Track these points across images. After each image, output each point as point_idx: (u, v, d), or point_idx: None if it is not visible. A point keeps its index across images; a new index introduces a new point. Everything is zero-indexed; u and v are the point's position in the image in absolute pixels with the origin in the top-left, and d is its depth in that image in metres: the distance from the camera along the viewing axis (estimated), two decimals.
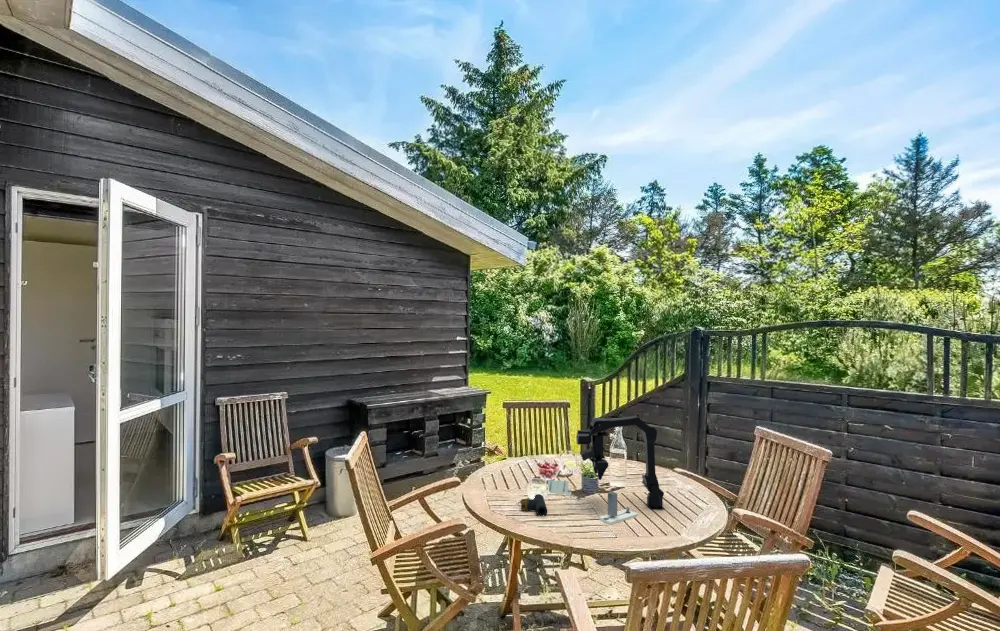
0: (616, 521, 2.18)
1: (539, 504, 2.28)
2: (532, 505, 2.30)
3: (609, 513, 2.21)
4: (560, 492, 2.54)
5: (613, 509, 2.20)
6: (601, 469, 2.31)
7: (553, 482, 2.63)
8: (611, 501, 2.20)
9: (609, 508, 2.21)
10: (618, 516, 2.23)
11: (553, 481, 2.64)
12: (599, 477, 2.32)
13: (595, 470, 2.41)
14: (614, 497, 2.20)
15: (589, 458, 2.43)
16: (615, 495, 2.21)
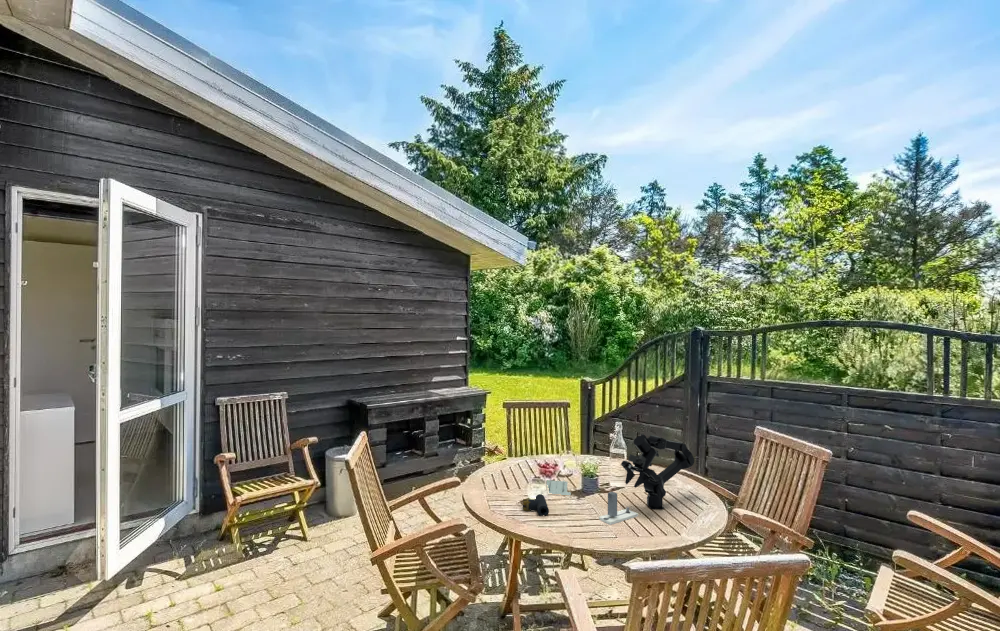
0: (616, 521, 2.18)
1: (541, 504, 2.28)
2: (533, 505, 2.30)
3: (609, 513, 2.21)
4: (559, 492, 2.53)
5: (613, 509, 2.20)
6: (642, 479, 2.27)
7: (552, 482, 2.62)
8: (611, 501, 2.20)
9: (609, 508, 2.21)
10: (618, 516, 2.23)
11: (552, 481, 2.63)
12: (636, 484, 2.25)
13: (627, 480, 2.31)
14: (614, 497, 2.20)
15: (627, 467, 2.33)
16: (615, 495, 2.21)
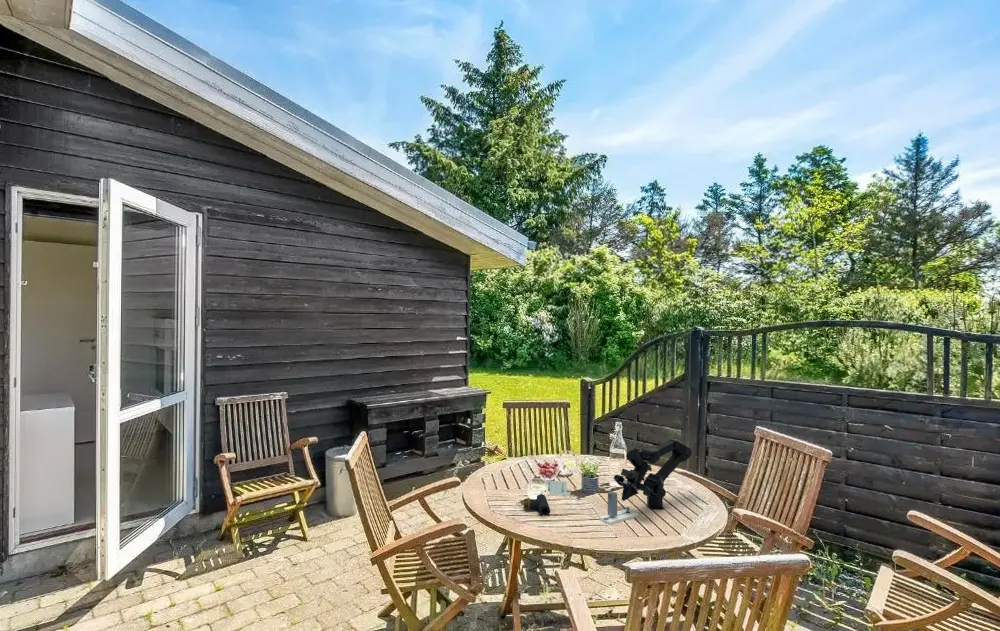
0: (616, 521, 2.18)
1: (542, 504, 2.28)
2: (535, 505, 2.30)
3: (609, 513, 2.21)
4: (559, 493, 2.53)
5: (613, 509, 2.20)
6: (631, 492, 2.26)
7: (551, 483, 2.62)
8: (611, 501, 2.20)
9: (609, 508, 2.21)
10: (618, 516, 2.23)
11: (551, 482, 2.63)
12: (624, 498, 2.25)
13: None
14: (614, 497, 2.20)
15: (623, 482, 2.28)
16: (615, 495, 2.21)
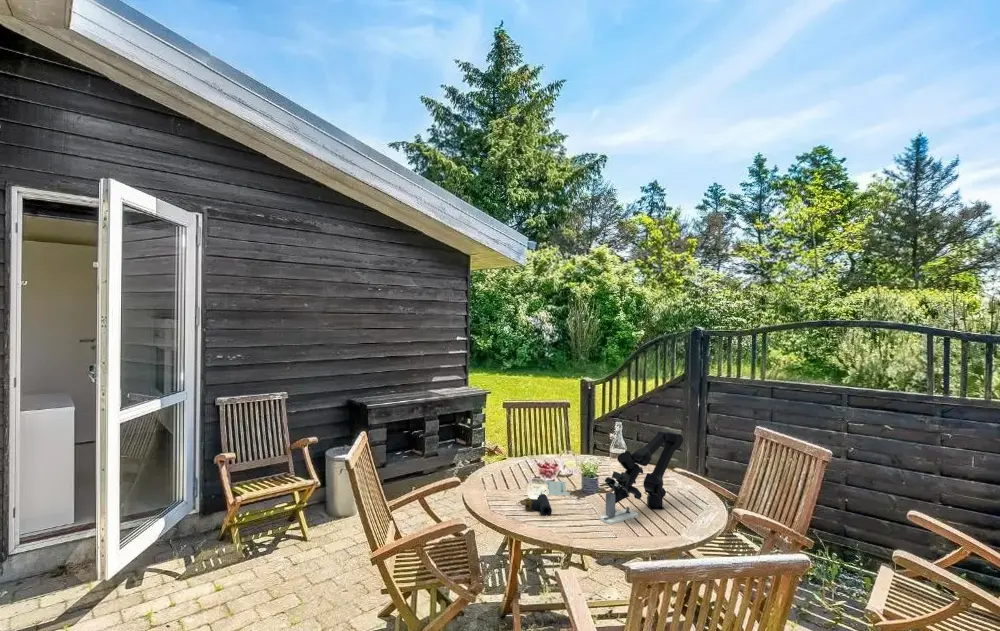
0: (616, 521, 2.18)
1: (543, 504, 2.28)
2: (536, 505, 2.31)
3: (607, 514, 2.20)
4: (558, 493, 2.53)
5: (611, 509, 2.19)
6: (622, 495, 2.23)
7: (550, 483, 2.61)
8: (609, 502, 2.19)
9: (607, 509, 2.20)
10: (618, 516, 2.23)
11: (550, 482, 2.62)
12: (615, 501, 2.22)
13: None
14: (612, 498, 2.19)
15: (614, 485, 2.25)
16: (613, 496, 2.20)
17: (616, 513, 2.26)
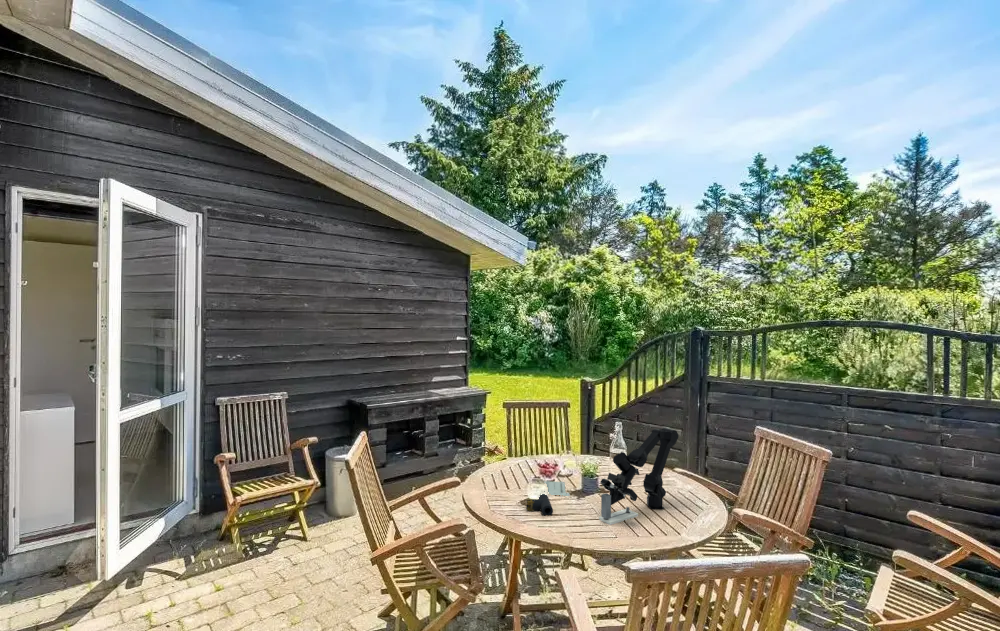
0: (616, 521, 2.18)
1: (545, 504, 2.28)
2: (537, 505, 2.31)
3: (603, 515, 2.19)
4: (558, 493, 2.52)
5: (606, 511, 2.18)
6: (617, 497, 2.21)
7: (549, 483, 2.61)
8: (604, 503, 2.18)
9: (603, 510, 2.19)
10: (618, 516, 2.23)
11: (549, 482, 2.62)
12: (611, 503, 2.20)
13: None
14: (607, 499, 2.18)
15: (610, 487, 2.24)
16: (609, 497, 2.18)
17: (616, 513, 2.26)
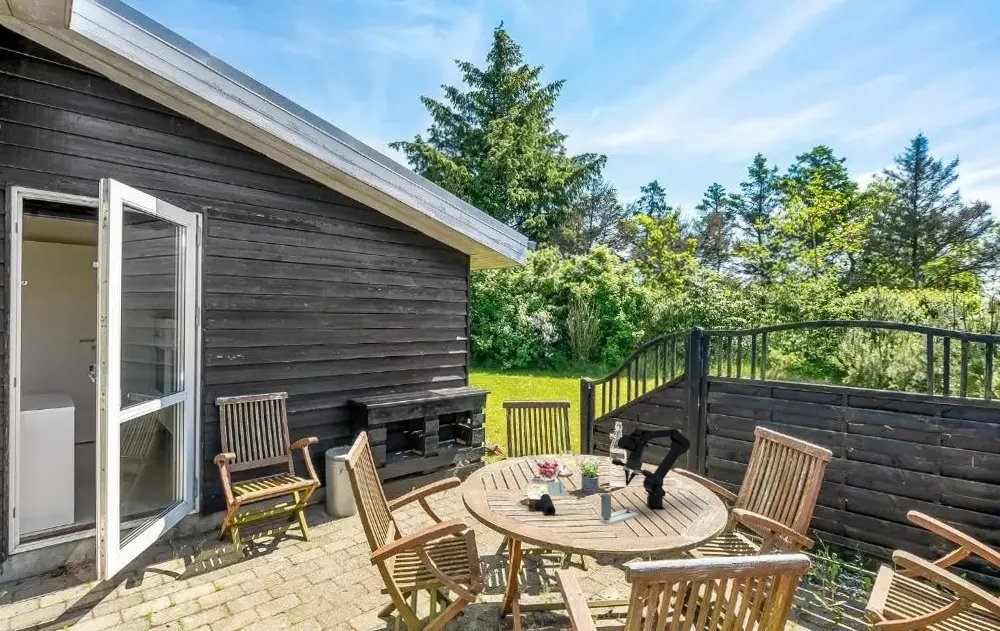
0: (616, 521, 2.18)
1: (547, 504, 2.28)
2: (540, 505, 2.31)
3: (603, 515, 2.19)
4: (557, 494, 2.51)
5: (606, 511, 2.18)
6: None
7: (548, 484, 2.60)
8: (604, 503, 2.18)
9: (603, 510, 2.19)
10: (618, 516, 2.23)
11: (548, 483, 2.61)
12: (628, 483, 2.30)
13: None
14: (607, 499, 2.18)
15: (626, 469, 2.30)
16: (609, 497, 2.18)
17: (616, 513, 2.26)
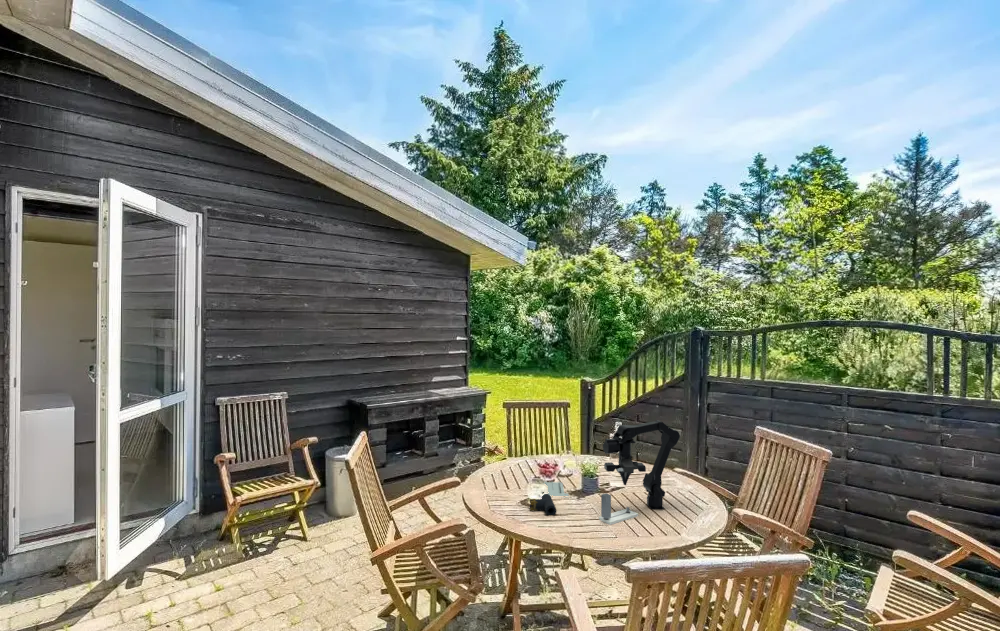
0: (616, 521, 2.18)
1: (548, 504, 2.28)
2: (541, 505, 2.31)
3: (603, 515, 2.19)
4: (557, 494, 2.51)
5: (606, 511, 2.18)
6: None
7: (547, 484, 2.59)
8: (604, 503, 2.18)
9: (603, 510, 2.19)
10: (618, 516, 2.23)
11: (547, 483, 2.60)
12: None
13: None
14: (607, 499, 2.18)
15: (622, 472, 2.30)
16: (609, 497, 2.18)
17: (616, 513, 2.26)
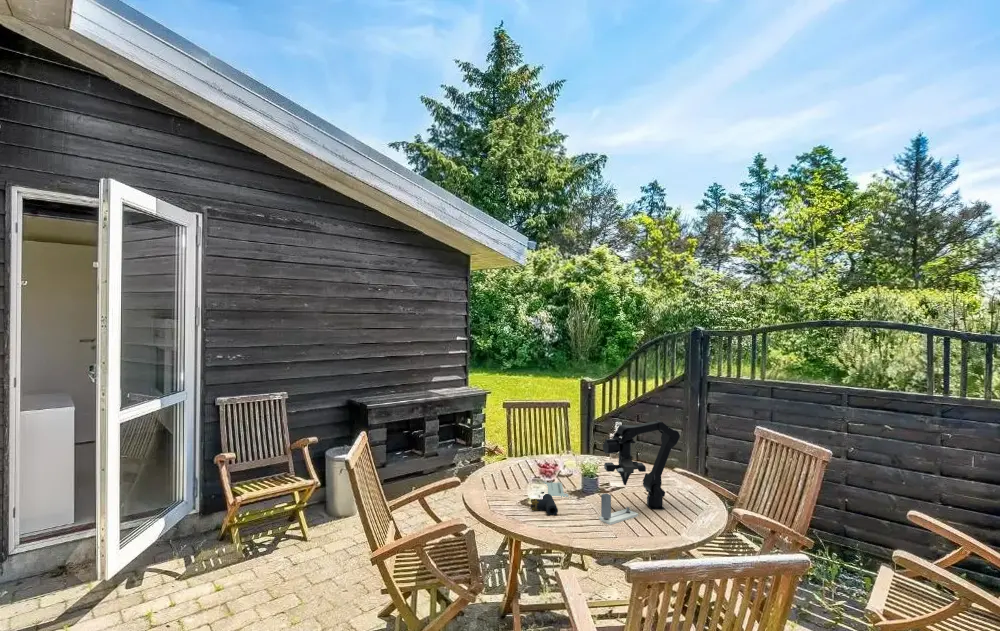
0: (616, 521, 2.18)
1: (549, 504, 2.28)
2: (542, 505, 2.31)
3: (603, 515, 2.19)
4: (557, 494, 2.51)
5: (606, 511, 2.18)
6: None
7: (547, 484, 2.59)
8: (604, 503, 2.18)
9: (603, 510, 2.19)
10: (618, 516, 2.23)
11: (546, 483, 2.60)
12: None
13: None
14: (607, 499, 2.18)
15: (622, 472, 2.30)
16: (609, 497, 2.18)
17: (616, 513, 2.26)
